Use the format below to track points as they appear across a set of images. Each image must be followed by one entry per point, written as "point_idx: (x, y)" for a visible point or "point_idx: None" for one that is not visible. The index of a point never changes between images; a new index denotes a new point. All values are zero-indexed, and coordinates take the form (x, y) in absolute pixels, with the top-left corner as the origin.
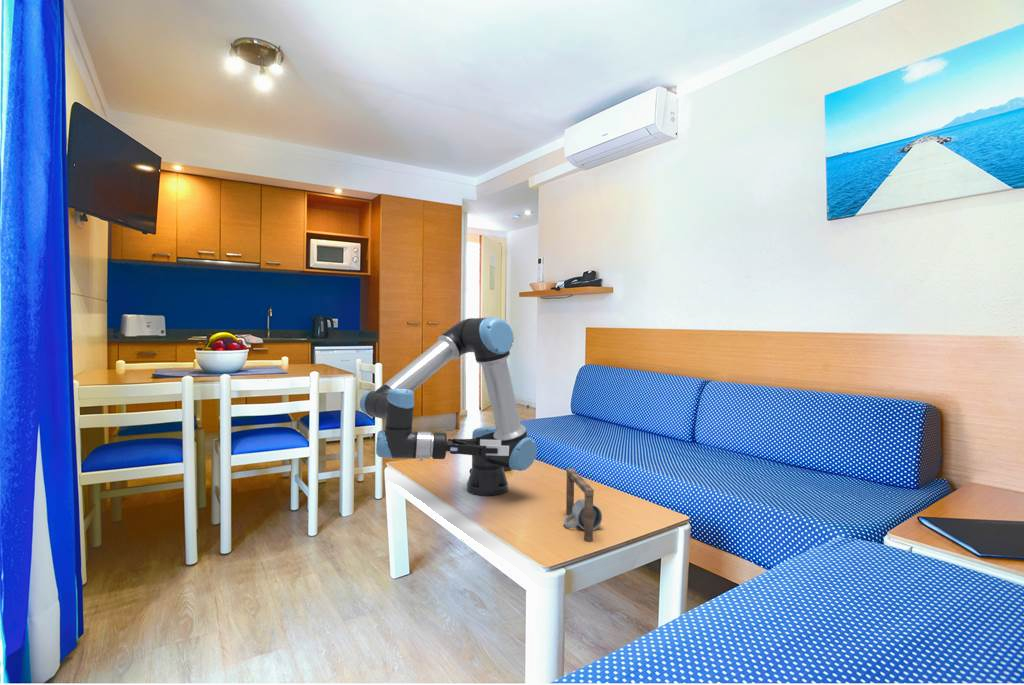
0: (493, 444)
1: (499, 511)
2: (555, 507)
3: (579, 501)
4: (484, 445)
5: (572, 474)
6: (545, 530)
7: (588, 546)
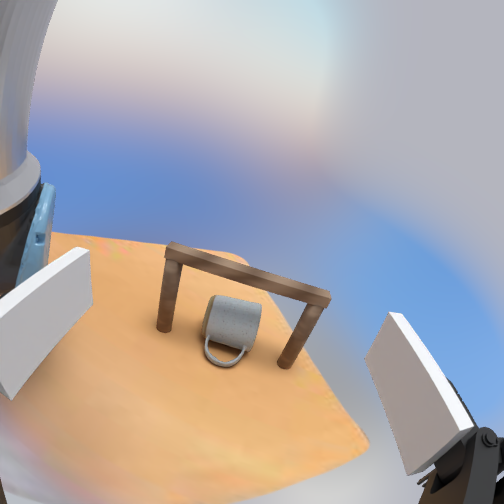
0: (61, 304)
1: (66, 422)
2: (119, 324)
3: (224, 309)
4: (21, 355)
5: (218, 263)
6: (225, 404)
7: (307, 374)
